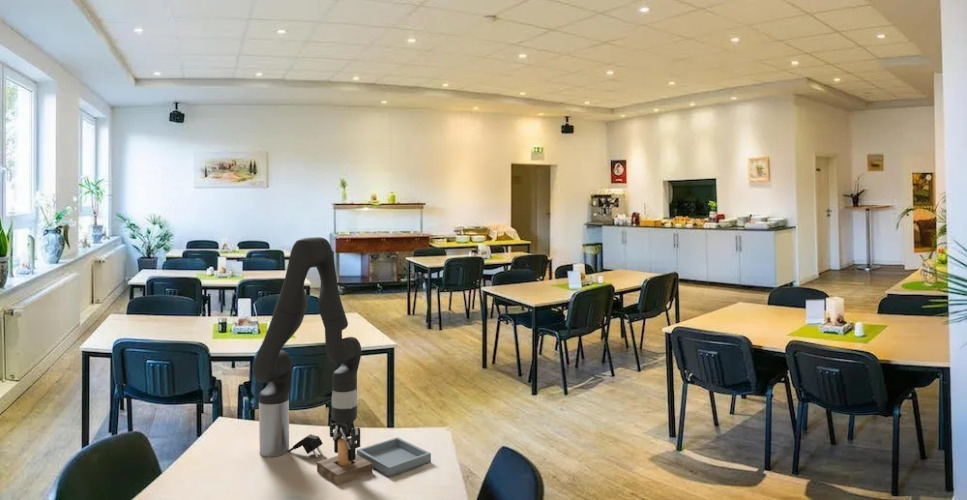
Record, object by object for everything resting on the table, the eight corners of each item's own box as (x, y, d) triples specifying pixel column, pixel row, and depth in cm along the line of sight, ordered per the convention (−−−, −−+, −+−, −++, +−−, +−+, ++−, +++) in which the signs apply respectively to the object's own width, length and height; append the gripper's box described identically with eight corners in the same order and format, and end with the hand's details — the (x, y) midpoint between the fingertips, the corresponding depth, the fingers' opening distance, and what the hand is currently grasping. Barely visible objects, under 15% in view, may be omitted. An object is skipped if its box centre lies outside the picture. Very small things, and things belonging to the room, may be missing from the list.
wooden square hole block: (317, 471, 186) (317, 461, 185) (351, 460, 194) (351, 451, 194) (337, 484, 177) (337, 474, 177) (372, 472, 185) (372, 463, 185)
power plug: (292, 446, 203) (318, 428, 200) (303, 465, 202) (330, 448, 199) (282, 452, 197) (309, 434, 194) (294, 472, 197) (321, 455, 194)
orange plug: (335, 471, 186) (335, 440, 185) (346, 468, 188) (346, 436, 187) (342, 476, 183) (342, 444, 182) (353, 472, 185) (353, 440, 185)
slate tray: (356, 458, 195) (356, 449, 195) (397, 445, 206) (397, 437, 206) (389, 477, 182) (389, 467, 182) (430, 462, 193) (430, 453, 193)
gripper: (321, 400, 186) (321, 452, 188) (346, 412, 176) (346, 467, 177) (343, 395, 192) (343, 446, 193) (368, 406, 181) (368, 460, 182)
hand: (344, 456), depth 185 cm, fingers open, 7 cm apart
